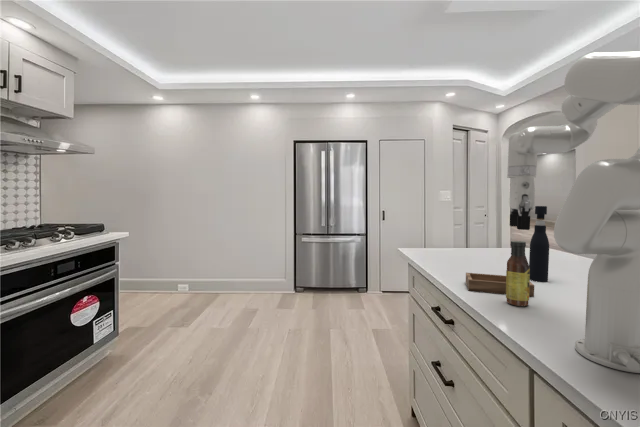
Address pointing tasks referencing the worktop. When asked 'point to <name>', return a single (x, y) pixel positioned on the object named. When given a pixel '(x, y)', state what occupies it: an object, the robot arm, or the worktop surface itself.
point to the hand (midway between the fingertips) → (519, 227)
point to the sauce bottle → (517, 275)
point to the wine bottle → (539, 248)
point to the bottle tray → (490, 283)
